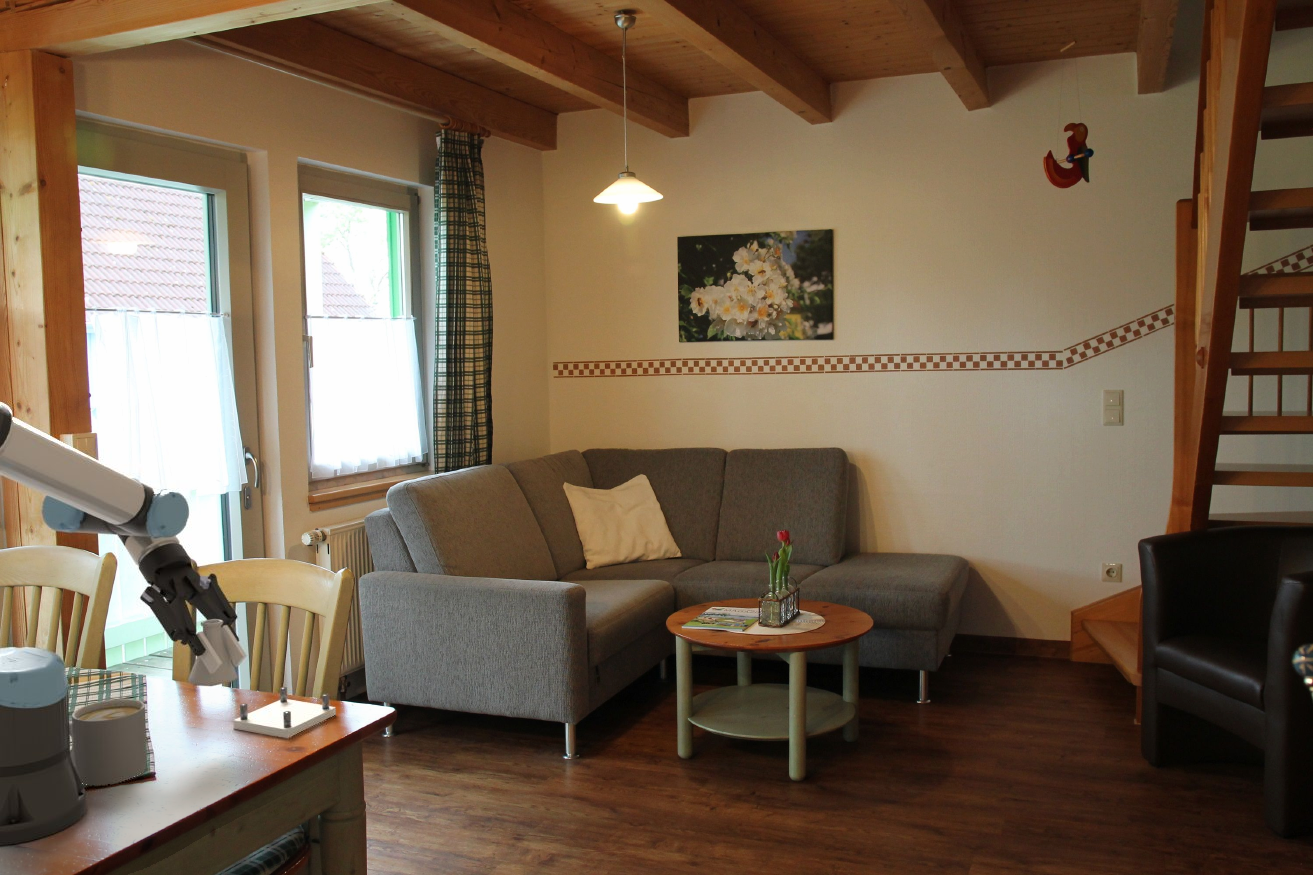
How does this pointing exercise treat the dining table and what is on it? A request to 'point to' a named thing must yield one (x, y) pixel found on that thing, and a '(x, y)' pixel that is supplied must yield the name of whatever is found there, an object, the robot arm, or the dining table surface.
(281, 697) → the pegs
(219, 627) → the flask
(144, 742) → the coffee mug
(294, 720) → the plate
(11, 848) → the dining table surface
